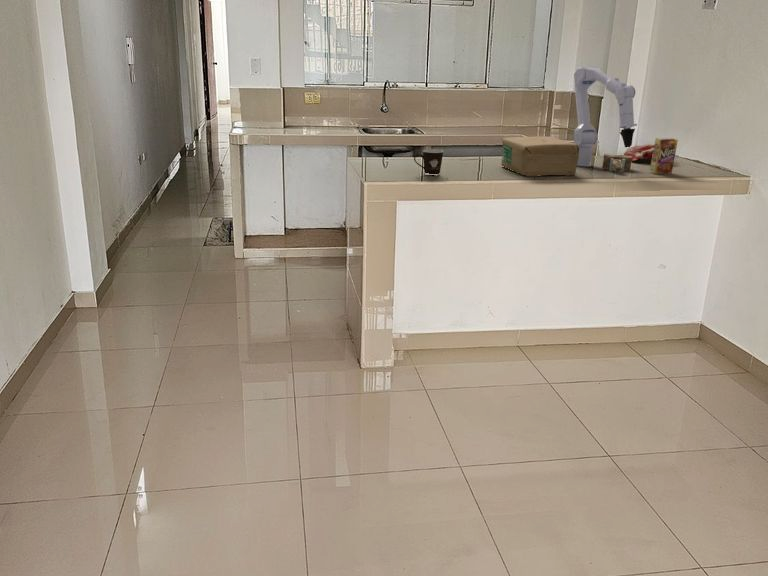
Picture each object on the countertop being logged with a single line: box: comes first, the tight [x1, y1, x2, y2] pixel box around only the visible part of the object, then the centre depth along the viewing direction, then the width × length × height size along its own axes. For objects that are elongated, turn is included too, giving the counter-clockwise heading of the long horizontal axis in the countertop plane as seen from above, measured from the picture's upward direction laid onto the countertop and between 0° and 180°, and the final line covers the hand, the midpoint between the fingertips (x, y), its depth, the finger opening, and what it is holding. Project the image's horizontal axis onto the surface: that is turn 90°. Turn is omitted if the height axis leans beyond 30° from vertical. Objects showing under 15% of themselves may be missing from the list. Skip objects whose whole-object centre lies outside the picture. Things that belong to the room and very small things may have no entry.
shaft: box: [612, 160, 624, 173], centre depth 301 cm, size 5×10×5 cm, turn 164°
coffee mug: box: [413, 149, 444, 174], centre depth 285 cm, size 12×9×10 cm
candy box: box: [649, 137, 679, 175], centre depth 298 cm, size 9×4×15 cm, turn 103°
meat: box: [623, 143, 655, 162], centre depth 329 cm, size 21×21×10 cm
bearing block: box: [601, 153, 633, 172], centre depth 307 cm, size 12×6×6 cm, turn 74°
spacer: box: [608, 158, 625, 173], centre depth 303 cm, size 6×2×5 cm, turn 74°
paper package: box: [500, 135, 580, 177], centre depth 297 cm, size 27×26×14 cm
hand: (628, 146), depth 290 cm, fingers open, 7 cm apart
